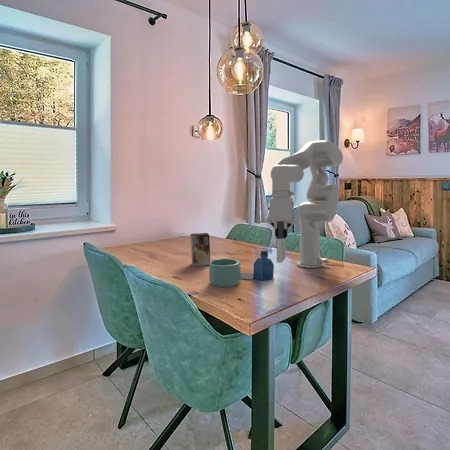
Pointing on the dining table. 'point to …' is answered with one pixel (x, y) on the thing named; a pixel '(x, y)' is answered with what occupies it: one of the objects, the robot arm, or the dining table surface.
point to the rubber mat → (246, 276)
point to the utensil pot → (224, 272)
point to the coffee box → (200, 249)
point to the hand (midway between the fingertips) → (281, 237)
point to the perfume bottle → (263, 267)
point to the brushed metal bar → (280, 243)
